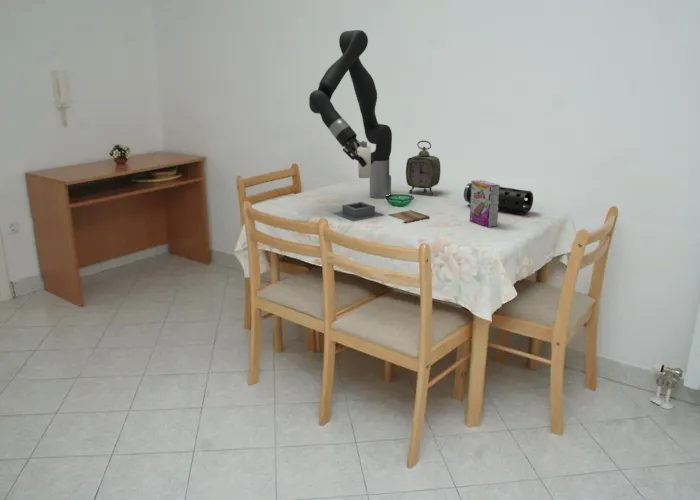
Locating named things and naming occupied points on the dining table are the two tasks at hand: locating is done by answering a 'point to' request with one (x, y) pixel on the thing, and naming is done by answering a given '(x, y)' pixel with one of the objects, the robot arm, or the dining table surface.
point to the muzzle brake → (508, 199)
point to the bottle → (366, 155)
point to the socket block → (358, 211)
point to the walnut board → (409, 216)
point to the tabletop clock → (423, 170)
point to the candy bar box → (484, 203)
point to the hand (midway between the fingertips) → (368, 164)
